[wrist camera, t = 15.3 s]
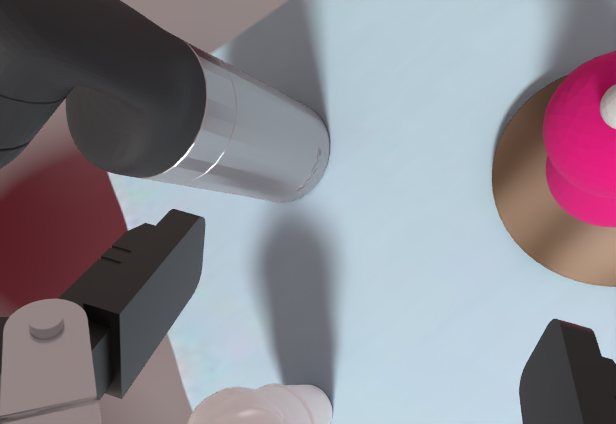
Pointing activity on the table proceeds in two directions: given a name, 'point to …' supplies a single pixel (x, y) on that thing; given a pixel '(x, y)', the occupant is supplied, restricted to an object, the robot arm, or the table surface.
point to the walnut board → (546, 203)
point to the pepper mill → (584, 142)
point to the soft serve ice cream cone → (265, 406)
